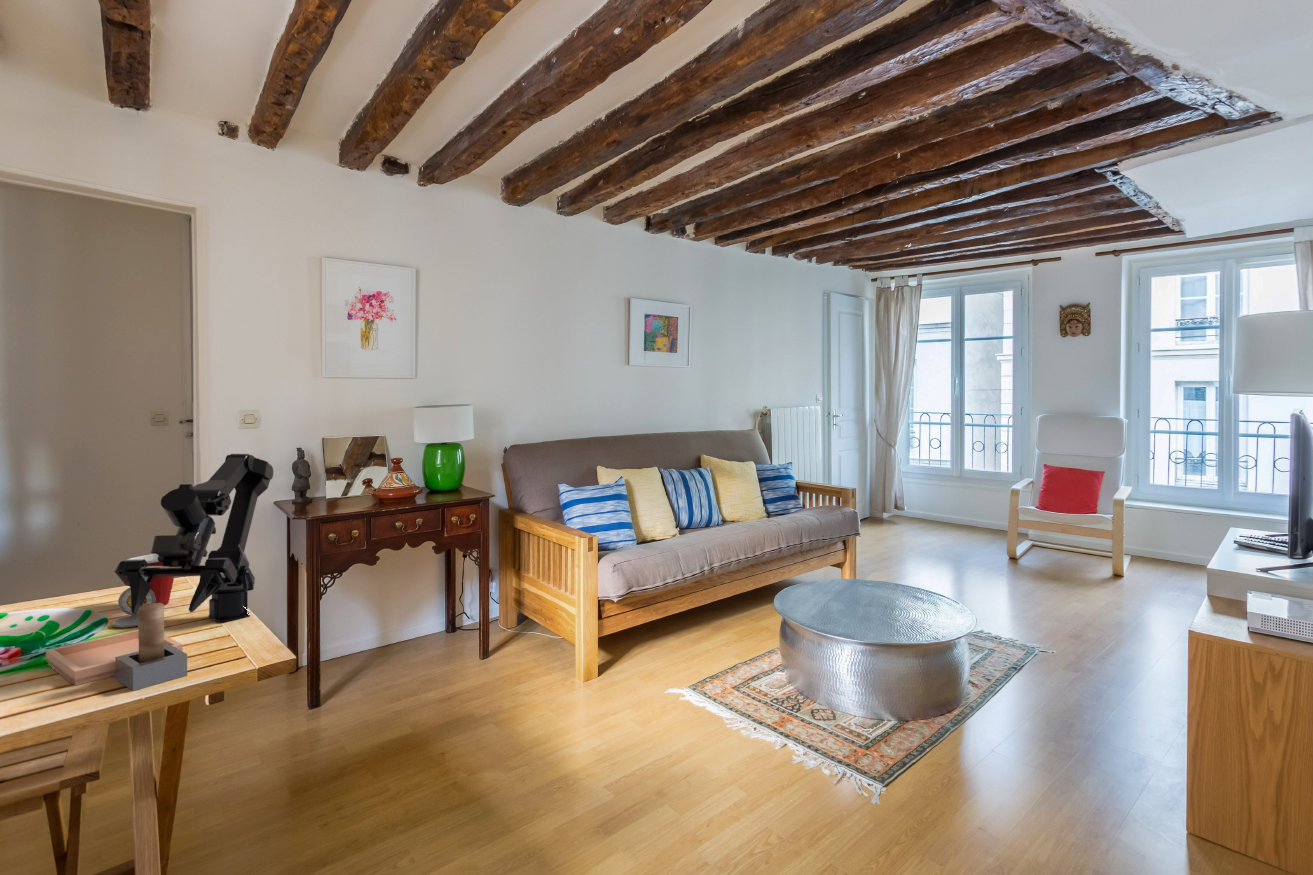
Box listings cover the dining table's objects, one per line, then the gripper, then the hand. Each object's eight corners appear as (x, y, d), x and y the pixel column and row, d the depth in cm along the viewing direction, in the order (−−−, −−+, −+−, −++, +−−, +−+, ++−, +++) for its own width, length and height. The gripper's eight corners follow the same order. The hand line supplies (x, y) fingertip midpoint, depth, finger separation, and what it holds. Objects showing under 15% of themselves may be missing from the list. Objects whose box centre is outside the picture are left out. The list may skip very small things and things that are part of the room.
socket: (168, 664, 121) (168, 643, 121) (187, 675, 116) (187, 653, 116) (115, 678, 114) (115, 656, 114) (133, 690, 110) (132, 668, 110)
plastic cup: (153, 596, 160) (153, 549, 160) (191, 599, 159) (191, 552, 158) (111, 610, 150) (110, 559, 149) (151, 613, 148) (151, 562, 148)
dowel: (159, 671, 118) (159, 601, 117) (167, 676, 116) (167, 605, 115) (135, 677, 115) (134, 606, 114) (143, 683, 113) (142, 610, 112)
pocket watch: (119, 631, 137) (119, 585, 136) (104, 623, 141) (103, 578, 141) (164, 621, 144) (164, 577, 143) (148, 613, 148) (148, 571, 148)
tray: (149, 638, 133) (149, 626, 133) (182, 657, 124) (182, 644, 124) (46, 663, 120) (45, 649, 120) (75, 685, 111) (74, 671, 111)
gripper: (120, 517, 121) (82, 592, 110) (231, 516, 125) (205, 588, 115) (143, 550, 129) (110, 622, 118) (247, 548, 133) (224, 617, 123)
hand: (162, 612), depth 118 cm, fingers open, 9 cm apart
